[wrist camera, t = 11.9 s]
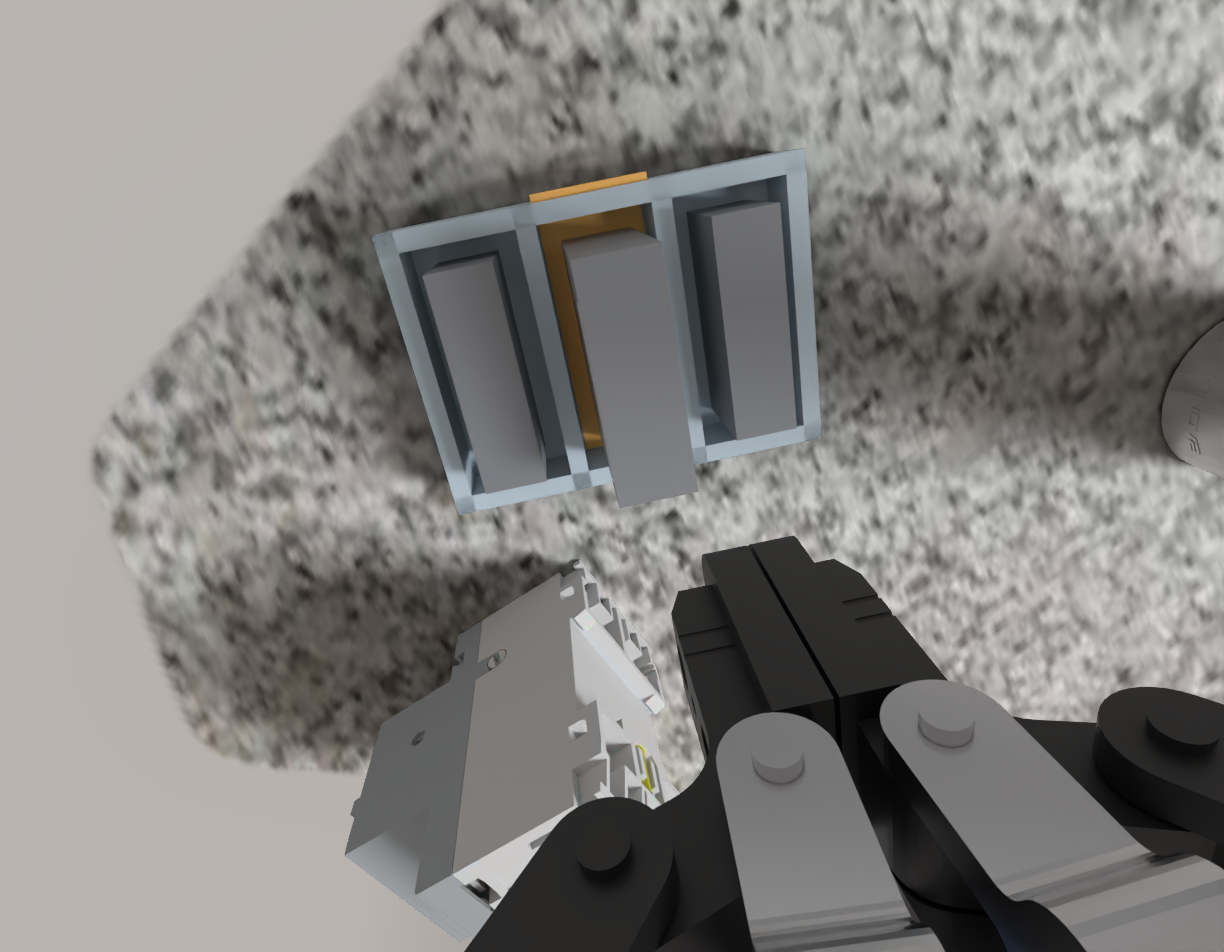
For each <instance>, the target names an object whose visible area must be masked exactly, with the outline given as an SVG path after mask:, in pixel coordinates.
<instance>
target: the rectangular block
mask: <svg viewBox="0 0 1224 952" xmlns="http://www.w3.org/2000/svg"><path fill="white" fill-rule="evenodd" d="M561 244H562V249H563V254H564V259H565V264H566V269H567V274H568V279H569V284H570V289H571V293H572V298H573V303H574V308H575V313H576V318H577V323H578V328H579V333H580V338H581V342H582V347H583V352H584V357H585V362H586V367H587V372H588V377H589V382H590V387H591V392H592V396H593V401H594V406H595V411H596V416H597V421H598V426H599V431H600V436H601V439H602V443H603V447H604V451H605V455H606V458H607V462H608V466H609V470H610V474H611V477H612V481H613V485H614V489H615V493H616V496H617V500H618V504H619V508H623V507H628V506H632V505H637V504H642V503H647V502H651V501H656V500H661V499H665V498H670V497H675V496H679V495H684V494H689V493H693V492H698V487H697V480H696V473H695V466H694V459H693V452H692V446H691V439H690V432H689V425H688V418H687V411H686V404H685V397H684V390H683V383H682V376H681V369H680V362H679V356H678V349H677V342H676V335H675V328H674V321H673V314H672V307H671V300H670V293H669V286H668V279H667V272H666V266H665V259H664V252H663V245H662V241H660V240H657V239H655V238H653V237H651V236H649V235H646V234H644V233H642V232H640V231H638V230H635V229H633V228H631V227H626V228H621V229H616V230H612V231H607V232H602V233H597V234H592V235H587V236H582V237H577V238H572V239H567V240H562V241H561Z"/></svg>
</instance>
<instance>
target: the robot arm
mask: <svg viewBox="0 0 1224 952" xmlns="http://www.w3.org/2000/svg"><path fill="white" fill-rule="evenodd" d="M1161 423H1162V429H1163V434H1164V438H1165V440H1166V442H1167V444H1168V446H1169V448H1170V450H1171V451H1172V452H1173V453H1174V454H1175V455H1176V456H1177V457H1178V458H1179V459H1181V460H1183V461H1185V462H1187V463H1189V464H1191V465H1193V466H1195V467H1198V468H1200V469H1202V470H1205V471H1207V472H1209V473H1212V474H1214V475H1216V476H1219V477H1221V478H1223V479H1224V321H1222V322H1220V323H1219V324H1217V325H1216V326H1215V327H1214V328H1212V329H1211V330H1210V331H1209V332H1208V333H1206V334H1205V335H1204V336H1203V337H1202V338H1201V339H1200V340H1199V341H1198V342H1197V343H1196V344H1195V345H1194V346H1193V348H1192V349H1191V350H1190V351H1189V352H1188V353H1187V354H1186V356H1185V357H1184V359H1183V360H1182V362H1181V363H1180V365H1179V366H1178V368H1177V369H1176V371H1175V373H1174V375H1173V377H1172V379H1171V381H1170V384H1169V386H1168V388H1167V391H1166V394H1165V398H1164V402H1163V406H1162V420H1161ZM702 567H703V574H704V581H705V586H702V587H697V588H692V589H688V590H683V591H678V594H677V597H676V601H675V604H674V607H673V610H672V613H671V614H672V620H673V626H674V631H675V637H676V643H677V649H678V654H679V660H680V666H681V672H682V677H683V683H684V688H685V692H686V695H687V699H688V702H689V706H690V710H691V712H692V716H693V720H694V724H695V727H696V731H697V733H698V738H699V741H700V745H701V749H702V752H703V756H704V759H705V766H704V768H703V770H702V771H701V773H700V775H699V776H698V777H697V779H696V780H695V781H694V782H693V783H692V784H691V785H690V786H689V787H688V788H687V789H686V790H685V791H683V792H682V793H680V794H679V795H677V796H676V797H674V798H672V799H671V800H669V801H667V802H665V803H664V804H662V805H660V806H658V807H656V808H655V809H651V808H650V807H649V806H647V805H645V804H643V803H642V802H640V801H637V800H634V799H630V798H624V797H605V798H599V799H596V800H592V801H589V802H587V803H585V804H583V805H580V806H578V807H577V808H575V809H574V810H572V811H571V812H569V813H568V814H567V815H566V816H565V817H563V818H562V819H561V820H560V821H559V822H558V824H557V825H556V826H555V827H554V828H553V830H552V831H551V832H550V834H549V835H548V836H547V838H546V839H545V841H544V842H543V843H542V845H541V846H540V847H539V849H538V850H537V852H536V853H535V854H534V856H533V857H532V859H531V860H530V861H529V863H528V864H527V865H526V867H525V868H524V870H523V871H522V872H521V874H520V875H519V877H518V878H517V879H516V881H515V882H514V883H513V885H512V886H511V888H510V889H509V890H508V892H507V893H506V895H505V896H504V897H503V899H502V900H501V901H500V903H499V904H498V906H497V907H496V908H495V910H494V911H493V913H492V914H491V915H490V917H489V918H488V919H487V921H486V922H485V924H484V925H483V926H482V928H481V929H480V931H479V932H478V933H477V935H476V936H475V937H474V939H473V940H472V942H471V943H470V944H469V946H468V947H467V949H466V950H465V951H464V952H1224V705H1223V704H1220V703H1217V702H1214V701H1211V700H1208V699H1205V698H1202V697H1199V696H1196V695H1192V694H1189V693H1185V692H1182V691H1177V690H1172V689H1167V688H1157V687H1136V688H1128V689H1125V690H1121V691H1118V692H1116V693H1114V694H1111V695H1110V696H1109V697H1107V698H1106V699H1105V700H1104V701H1103V703H1102V704H1101V705H1100V708H1099V711H1098V716H1097V723H1088V722H1067V721H1047V720H1032V719H1023V718H1018V717H1012V716H1011V715H1010V714H1009V713H1008V712H1007V711H1006V710H1005V709H1004V708H1003V707H1002V706H1001V705H999V704H998V703H997V702H996V701H995V700H994V699H992V698H991V697H989V696H988V695H986V694H984V693H982V692H980V691H978V690H977V689H974V688H972V687H969V686H966V685H964V684H960V683H956V682H952V681H948V680H947V679H946V678H945V676H944V675H943V674H942V673H941V672H940V670H939V669H938V668H937V667H936V665H935V664H934V663H933V662H932V661H931V659H930V658H929V657H928V656H927V654H926V653H925V652H924V651H923V649H922V648H921V647H920V646H919V645H918V643H917V642H916V641H915V640H914V638H913V637H912V636H911V635H910V633H909V632H908V631H907V630H906V629H905V627H904V626H903V625H902V624H901V622H900V621H899V620H898V619H897V618H896V616H893V615H892V613H891V610H890V609H889V608H888V606H887V605H886V604H885V603H884V602H883V600H882V599H881V598H878V595H877V593H876V592H875V591H874V589H873V588H872V587H871V586H870V584H869V583H868V582H867V581H866V579H865V578H864V577H863V576H862V575H861V574H860V573H859V572H857V571H855V570H853V569H851V568H850V567H848V566H846V565H844V564H842V563H840V562H839V561H837V560H835V559H831V560H826V561H821V562H817V563H814V562H813V560H812V559H811V558H810V556H809V555H808V553H807V552H806V551H805V549H804V548H803V546H802V545H801V544H800V542H799V541H798V539H797V538H796V537H795V536H789V537H784V538H779V539H775V540H770V541H765V542H760V543H755V544H750V545H749V546H748V547H747V546H742V547H737V548H732V549H727V550H722V551H718V552H713V553H708V554H703V555H702Z"/></svg>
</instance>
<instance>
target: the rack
mask: <svg viewBox="0 0 1224 952" xmlns="http://www.w3.org/2000/svg"><path fill="white" fill-rule="evenodd" d="M529 197H530V201H531V202H526V203H521V204H516V205H511V206H506V207H501V208H496V209H491V210H487V211H482V212H477V213H472V214H467V215H462V216H457V217H452V218H447V219H442V220H437V221H432V222H427V223H422V224H418V225H413V226H408V227H403V228H398V229H393V230H388V231H385V232H382V233H379V234H376V235H373V236H371V237H372V240H373V243H374V246H375V250H376V253H377V256H378V259H379V262H380V265H381V269H382V272H383V275H384V278H385V281H386V285H387V288H388V291H389V294H390V297H391V300H392V304H393V307H394V310H395V313H396V316H397V319H398V323H399V326H400V329H401V332H402V335H403V339H404V342H405V345H406V348H407V351H408V354H409V358H410V361H411V364H412V367H413V370H414V373H415V377H416V380H417V383H418V386H419V389H420V393H421V396H422V399H423V402H424V405H425V408H426V412H427V415H428V418H429V421H430V424H431V427H432V431H433V434H434V437H435V440H436V443H437V447H438V450H439V453H440V456H441V459H442V462H443V466H444V469H445V472H446V475H447V478H448V481H449V485H450V488H451V491H452V494H453V497H454V501H455V504H456V507H457V510H458V513H459V515H461V514H466V513H471V512H475V511H480V510H485V509H490V508H494V507H499V506H504V505H508V504H513V503H518V502H522V501H527V500H532V499H536V498H541V497H546V496H551V495H555V494H560V493H565V492H569V491H574V490H579V489H583V488H588V487H593V486H597V485H602V484H607V483H612V482H613V481H612V477H611V474H610V470H609V466H608V462H607V458H606V455H605V451H604V447H603V443H602V439H601V436H600V431H599V426H598V421H597V416H596V411H595V406H594V401H593V396H592V392H591V387H590V382H589V377H588V372H587V367H586V362H585V357H584V352H583V347H582V342H581V338H580V333H579V328H578V323H577V318H576V313H575V308H574V303H573V298H572V293H571V289H570V284H569V279H568V274H567V269H566V264H565V259H564V254H563V249H562V244H561V241H562V240H567V239H572V238H577V237H582V236H587V235H592V234H597V233H602V232H607V231H612V230H616V229H621V228H626V227H631V228H633V229H635V230H638V231H640V232H642V233H644V234H646V235H649V236H651V237H653V238H655V239H657V240H660V241H662V245H663V252H664V259H665V266H666V272H667V279H668V286H669V293H670V300H671V307H672V314H673V321H674V328H675V335H676V342H677V349H678V356H679V362H680V369H681V376H682V383H683V390H684V397H685V404H686V411H687V418H688V425H689V432H690V439H691V446H692V452H693V459H694V465H696V464H701V463H705V462H710V461H715V460H720V459H724V458H729V457H734V456H738V455H743V454H748V453H752V452H757V451H762V450H766V449H771V448H776V447H781V446H785V445H790V444H795V443H799V442H804V441H809V440H813V439H818V438H822V432H821V415H820V398H819V380H818V363H817V346H816V329H815V311H814V294H813V277H812V260H811V242H810V225H809V208H808V191H807V173H806V156H805V148H801V149H794V150H786V151H778V152H772V153H767V154H763V155H758V156H753V157H748V158H743V159H738V160H733V161H728V162H723V163H718V164H713V165H708V166H703V167H698V168H694V169H689V170H684V171H679V172H674V173H669V174H664V175H659V176H654V177H649V178H647V173H646V172H638V173H633V174H628V175H623V176H618V177H613V178H608V179H603V180H598V181H593V182H588V183H583V184H579V185H574V186H569V187H564V188H559V189H554V190H549V191H544V192H539V193H534V194H529Z"/></svg>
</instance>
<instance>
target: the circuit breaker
mask: <svg viewBox="0 0 1224 952" xmlns="http://www.w3.org/2000/svg"><path fill="white" fill-rule="evenodd" d="M573 566H574V568H575V569H576V570H574V571H572V572H571V573H569V574H568V575H566V576H564V577H563V576H562V575H561V574H560V573H557V574H556V575H554V576H553V577H551V578H549V579H548V580H546V581H545V582H543V583H541V584H540V585H538V586H537V587H535V588H533V589H532V590H530V591H529V592H527V593H525V594H524V595H522V596H521V597H519V598H517V599H516V600H514V601H513V602H511V603H509V604H508V605H506V606H505V607H503V608H501V609H500V610H498V611H496V612H495V613H493V614H492V615H490V616H488V617H487V618H485V619H484V620H482V621H480V622H479V623H477V624H476V625H474V626H473V627H471V628H469V629H468V630H466V631H465V632H463V633H461V634H460V635H459V636H458V638H457V644H456V650H455V656H454V658H455V659H456V660H457V661H458V662H459V665H456V666H453V668H452V674H451V679H450V681H449V682H448V683H446V684H444V685H443V686H441V687H440V688H438V689H436V690H435V691H433V692H431V693H430V694H428V695H427V696H425V697H423V698H422V699H420V700H419V701H417V702H415V703H414V704H412V705H410V706H409V707H407V708H406V709H404V710H402V711H401V712H399V713H398V714H396V715H394V716H393V717H391V718H389V719H388V720H386V721H385V722H383V723H382V724H381V726H380V730H379V734H378V737H377V741H376V744H375V748H374V751H373V755H372V758H371V762H370V765H369V769H368V772H367V776H366V779H365V783H364V786H363V790H362V793H361V797H360V798H359V799H357V800H356V801H354V805H353V808H352V812H351V815H352V816H353V817H354V822H353V825H352V829H351V832H350V836H349V839H348V840H349V841H348V843H347V847H346V851H345V856H346V857H347V858H349V859H350V860H352V861H353V862H354V863H355V864H357V865H358V866H359V867H361V868H362V869H363V870H365V871H366V872H367V873H369V874H370V875H371V876H373V877H374V878H375V879H377V880H378V881H379V882H381V883H382V884H383V885H385V886H386V887H387V888H389V889H390V890H391V891H393V892H394V893H395V894H397V895H398V896H399V897H401V898H402V899H403V900H405V901H406V902H407V903H408V904H410V905H411V906H413V907H414V908H415V909H416V910H418V911H419V912H421V913H422V914H423V915H424V916H426V917H427V918H429V919H430V920H431V921H433V922H434V923H435V924H436V925H438V926H439V927H440V928H442V929H443V930H444V931H446V932H447V933H448V934H450V935H451V936H452V937H454V938H456V940H458V941H459V942H462V941H463V940H465V939H467V938H469V937H471V938H473V939H474V937H475V936H476V935H477V933H478V932H479V931H480V929H481V928H482V926H483V925H484V924H485V922H486V921H487V919H488V918H489V917H490V915H491V914H492V913H493V911H494V910H495V908H496V907H497V906H498V904H499V903H500V901H501V900H502V899H503V897H504V896H505V895H506V893H507V892H508V890H509V889H510V888H511V886H512V885H513V883H514V882H515V881H516V879H517V878H518V877H519V875H520V874H521V872H522V871H523V870H524V868H525V867H526V865H527V864H528V863H529V861H530V860H531V859H532V857H533V856H534V854H535V853H536V852H537V850H538V849H539V847H540V846H541V845H542V843H543V842H544V841H545V839H546V838H547V836H548V835H549V834H550V832H551V831H552V830H553V828H554V827H555V826H556V825H557V824H558V822H559V821H560V820H561V819H562V818H563V817H565V816H566V815H567V814H568V813H569V812H571V811H572V810H574V809H575V808H577V807H578V806H580V805H583V804H585V803H587V802H589V801H592V800H596V799H599V798H605V797H624V798H630V799H634V800H637V801H640V802H642V803H643V804H645V805H647V806H649V807H650V808H651V809H655V808H656V807H658V806H660V805H662V804H664V803H665V802H667V801H669V800H671V799H672V798H674V797H676V796H677V795H679V794H680V793H679V792H678V791H677V789H676V788H675V787H674V786H673V785H672V784H671V783H670V782H669V780H668V779H667V775H666V770H665V767H664V766H663V765H662V762H661V758H660V753H659V749H658V744H657V740H656V735H655V731H654V726H653V721H652V717H651V714H652V713H653V712H654V713H655V715H656V714H657V713H658V712H659V711H660V710H661V709H662V708H663V707H664V706H666V705H665V701H664V697H663V693H662V689H661V685H660V681H659V677H658V673H657V669H656V666H655V665H654V664H653V662H652V658H651V654H653V653H652V649H651V648H650V647H649V646H648V644H647V643H646V642H645V641H644V639H643V638H642V637H641V636H640V634H639V633H638V632H637V631H636V629H635V628H634V627H633V626H632V624H631V623H630V622H629V621H628V619H627V618H626V617H625V616H624V614H623V613H622V612H621V611H620V609H619V608H618V607H617V606H616V604H615V603H614V602H613V601H612V599H611V598H610V597H609V596H608V594H607V593H606V592H605V591H604V589H603V588H602V587H601V586H600V584H599V583H598V582H597V581H596V579H595V578H594V577H593V576H592V574H591V573H590V572H589V571H588V569H587V568H586V567H585V566H584V564H583V563H582V562H581V561H580V560H578V561H577V562H575V563H573ZM586 584H587V585H586ZM584 585H586V586H584ZM600 598H601V599H602V600H603V601H602V602H601V600H600ZM646 678H648V680H649V681H648V680H647V679H646Z"/></svg>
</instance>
